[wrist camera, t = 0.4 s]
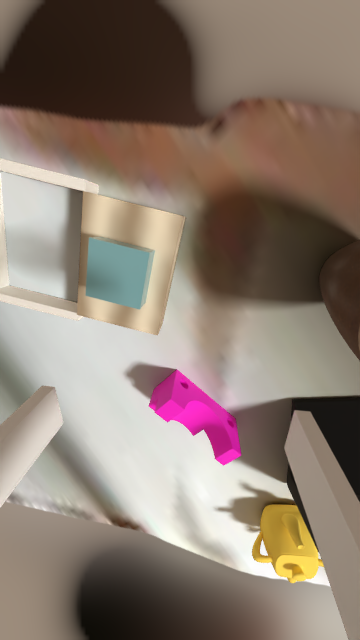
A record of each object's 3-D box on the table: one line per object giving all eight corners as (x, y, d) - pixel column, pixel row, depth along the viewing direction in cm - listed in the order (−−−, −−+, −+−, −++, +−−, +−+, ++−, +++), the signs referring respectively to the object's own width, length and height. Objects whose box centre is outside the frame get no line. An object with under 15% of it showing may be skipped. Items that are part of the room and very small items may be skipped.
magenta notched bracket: (154, 388, 42) (144, 420, 35) (177, 368, 39) (171, 399, 32) (211, 433, 44) (212, 471, 38) (235, 417, 42) (241, 455, 35)
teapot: (238, 508, 52) (246, 571, 43) (284, 486, 48) (303, 550, 38) (278, 536, 55) (293, 600, 45) (324, 517, 50) (352, 584, 41)
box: (2, 290, 37) (-17, 296, 34) (-10, 157, 29) (-36, 149, 26) (89, 312, 37) (78, 320, 33) (98, 185, 29) (85, 179, 26)
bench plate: (89, 305, 36) (76, 314, 33) (97, 195, 30) (83, 190, 26) (162, 324, 36) (157, 335, 32) (185, 217, 30) (183, 216, 26)
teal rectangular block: (96, 289, 31) (85, 295, 28) (100, 236, 28) (89, 237, 25) (145, 302, 31) (140, 309, 28) (155, 250, 28) (149, 252, 25)
